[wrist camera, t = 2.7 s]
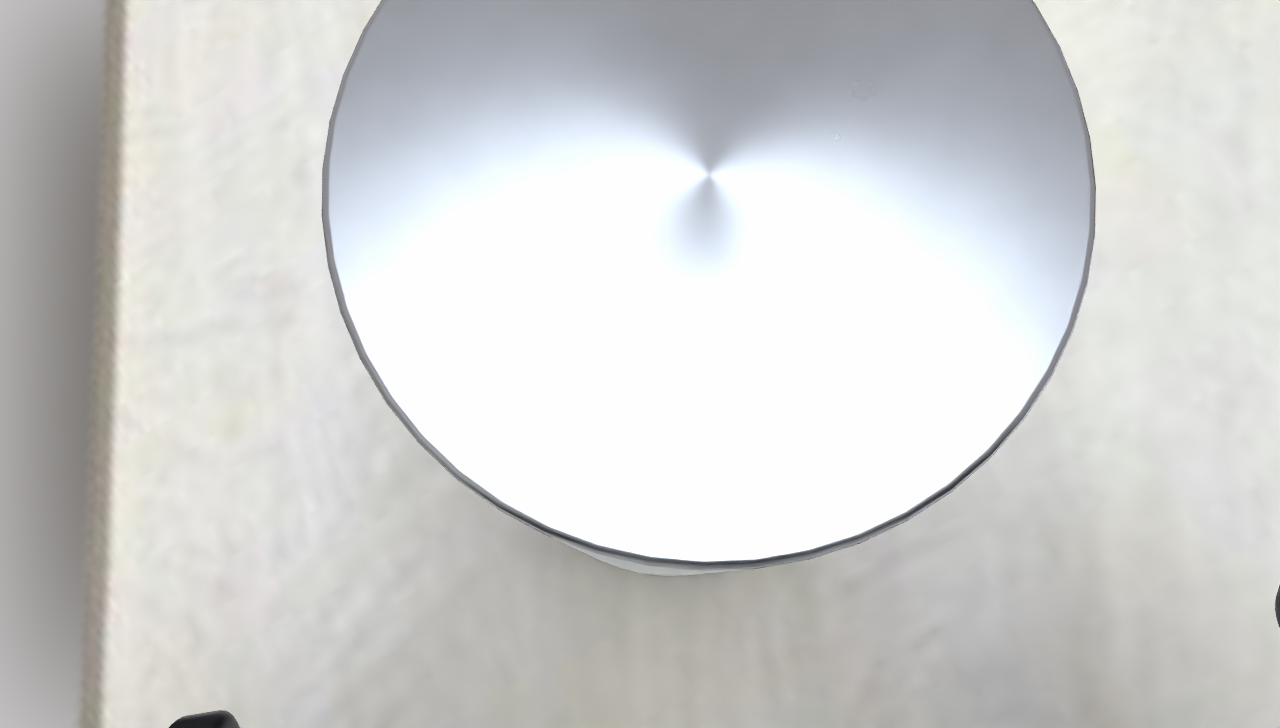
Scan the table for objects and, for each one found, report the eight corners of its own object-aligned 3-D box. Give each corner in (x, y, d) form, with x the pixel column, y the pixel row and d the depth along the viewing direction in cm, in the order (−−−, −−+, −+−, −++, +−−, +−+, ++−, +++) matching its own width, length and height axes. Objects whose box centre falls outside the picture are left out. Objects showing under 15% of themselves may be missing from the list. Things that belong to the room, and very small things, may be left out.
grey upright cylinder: (758, 632, 20) (930, 708, 8) (447, 491, 20) (179, 368, 8) (886, 325, 21) (1206, -9, 9) (587, 197, 21) (521, -277, 10)
